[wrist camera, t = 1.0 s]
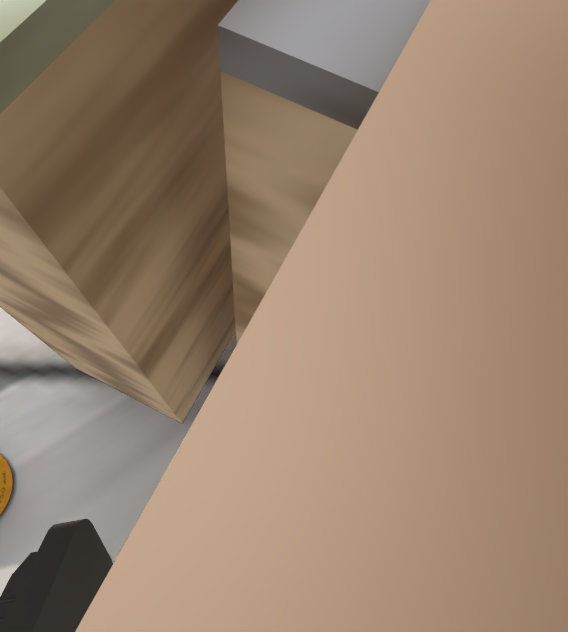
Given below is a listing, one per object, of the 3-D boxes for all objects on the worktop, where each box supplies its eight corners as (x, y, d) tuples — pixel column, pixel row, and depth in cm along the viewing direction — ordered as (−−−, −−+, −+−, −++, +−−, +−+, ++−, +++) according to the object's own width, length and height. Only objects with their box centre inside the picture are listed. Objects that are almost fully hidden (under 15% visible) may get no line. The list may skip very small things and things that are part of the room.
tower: (75, 368, 38) (-510, -107, 9) (166, 238, 43) (-4, -336, 14) (182, 423, 37) (-66, 102, 8) (262, 284, 42) (300, -231, 13)
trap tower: (239, 396, 38) (217, 25, 9) (310, 263, 43) (447, -251, 14) (373, 463, 37) (873, 298, 8) (429, 319, 42) (857, -116, 13)
